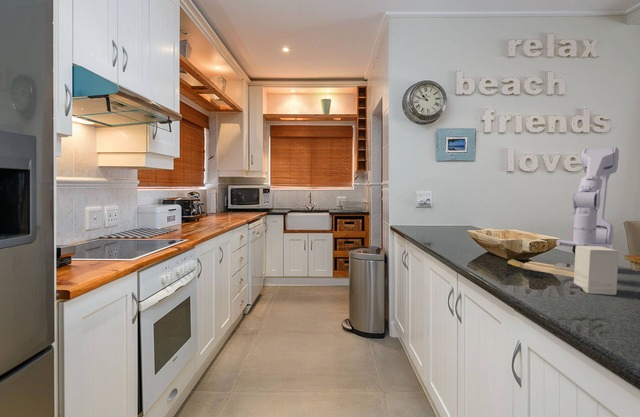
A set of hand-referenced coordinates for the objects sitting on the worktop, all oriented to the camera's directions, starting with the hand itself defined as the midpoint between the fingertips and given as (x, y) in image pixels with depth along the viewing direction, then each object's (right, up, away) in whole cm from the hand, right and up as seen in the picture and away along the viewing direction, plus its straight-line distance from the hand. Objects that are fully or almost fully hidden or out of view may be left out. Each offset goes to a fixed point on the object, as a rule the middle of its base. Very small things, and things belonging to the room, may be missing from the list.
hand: (582, 270), depth 107 cm
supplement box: (-6, -4, -11) cm, 13 cm away
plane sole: (-5, -3, +7) cm, 9 cm away
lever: (-11, -1, +13) cm, 17 cm away
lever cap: (-3, 0, +3) cm, 4 cm away
